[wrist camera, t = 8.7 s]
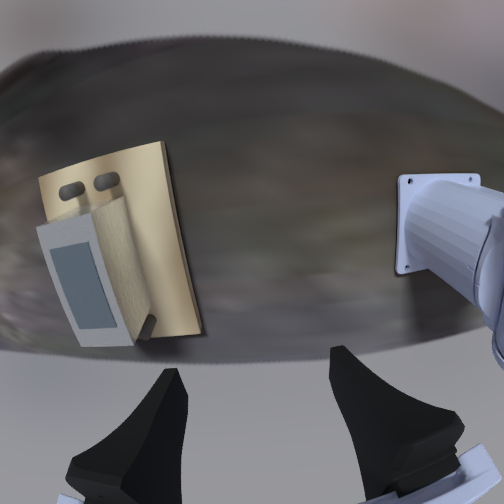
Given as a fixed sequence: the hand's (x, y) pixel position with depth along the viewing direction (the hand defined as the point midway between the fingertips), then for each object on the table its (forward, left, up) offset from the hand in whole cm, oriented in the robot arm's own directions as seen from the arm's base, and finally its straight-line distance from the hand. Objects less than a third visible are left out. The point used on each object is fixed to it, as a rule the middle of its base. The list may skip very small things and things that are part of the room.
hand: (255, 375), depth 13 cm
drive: (+9, -4, -8) cm, 13 cm away
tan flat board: (+9, -4, -9) cm, 14 cm away
